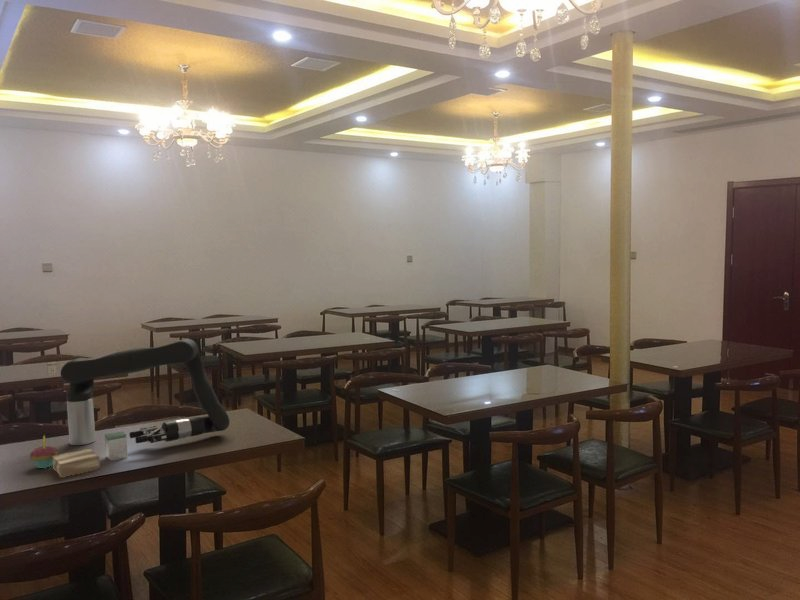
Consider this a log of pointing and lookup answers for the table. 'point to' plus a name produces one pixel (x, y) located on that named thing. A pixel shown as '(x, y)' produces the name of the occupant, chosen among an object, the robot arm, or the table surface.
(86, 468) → the birch box
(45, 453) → the cupcake
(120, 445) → the tea tin
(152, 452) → the table surface
